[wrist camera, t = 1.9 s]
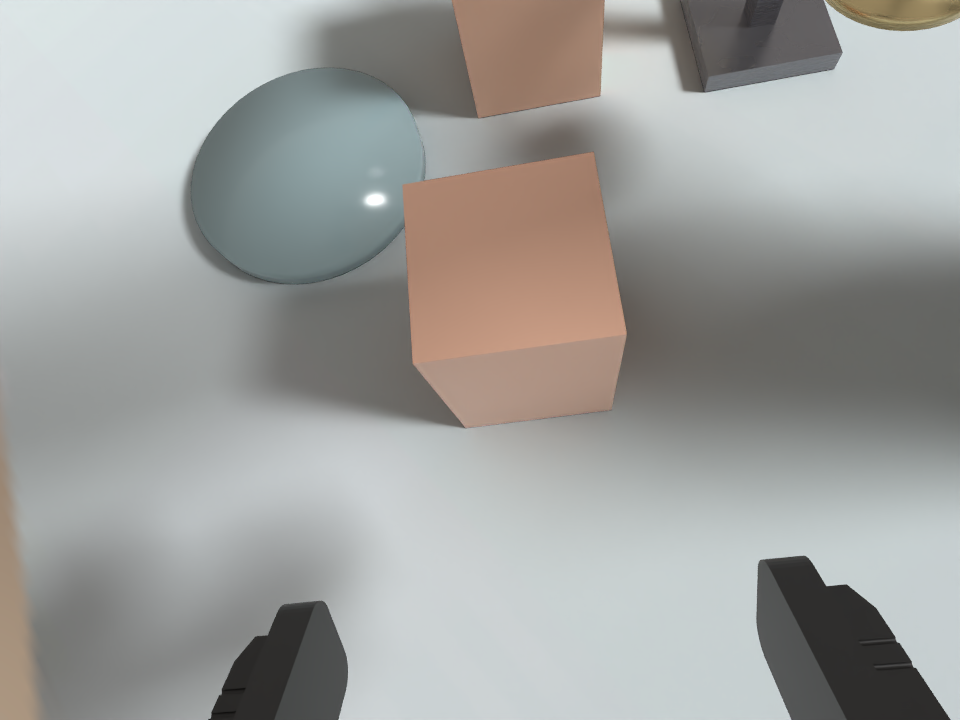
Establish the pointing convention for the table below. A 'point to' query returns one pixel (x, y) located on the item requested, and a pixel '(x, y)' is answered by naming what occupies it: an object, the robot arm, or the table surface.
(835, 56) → the balance
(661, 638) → the table surface
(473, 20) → the salmon square column
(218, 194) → the dish
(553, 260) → the salmon rectangular block
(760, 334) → the table surface
